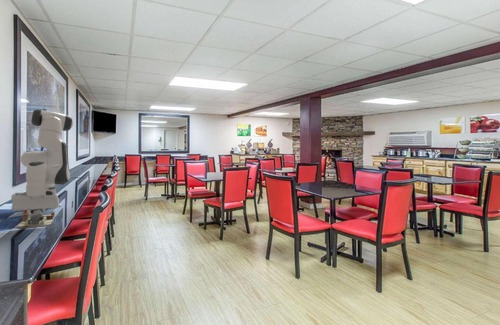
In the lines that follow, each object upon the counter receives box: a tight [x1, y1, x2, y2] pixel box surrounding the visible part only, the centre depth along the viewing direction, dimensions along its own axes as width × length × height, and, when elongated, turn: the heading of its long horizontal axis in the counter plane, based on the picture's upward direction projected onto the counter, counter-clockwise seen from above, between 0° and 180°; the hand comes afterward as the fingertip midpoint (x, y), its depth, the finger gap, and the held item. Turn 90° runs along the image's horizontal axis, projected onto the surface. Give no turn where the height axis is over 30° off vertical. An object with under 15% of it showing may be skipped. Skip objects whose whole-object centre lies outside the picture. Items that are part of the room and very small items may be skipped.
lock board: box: [17, 210, 56, 230], centre depth 156 cm, size 24×14×4 cm, turn 31°
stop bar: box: [32, 209, 42, 224], centre depth 150 cm, size 10×3×4 cm, turn 31°
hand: (36, 217), depth 150 cm, fingers closed on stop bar, 3 cm apart
